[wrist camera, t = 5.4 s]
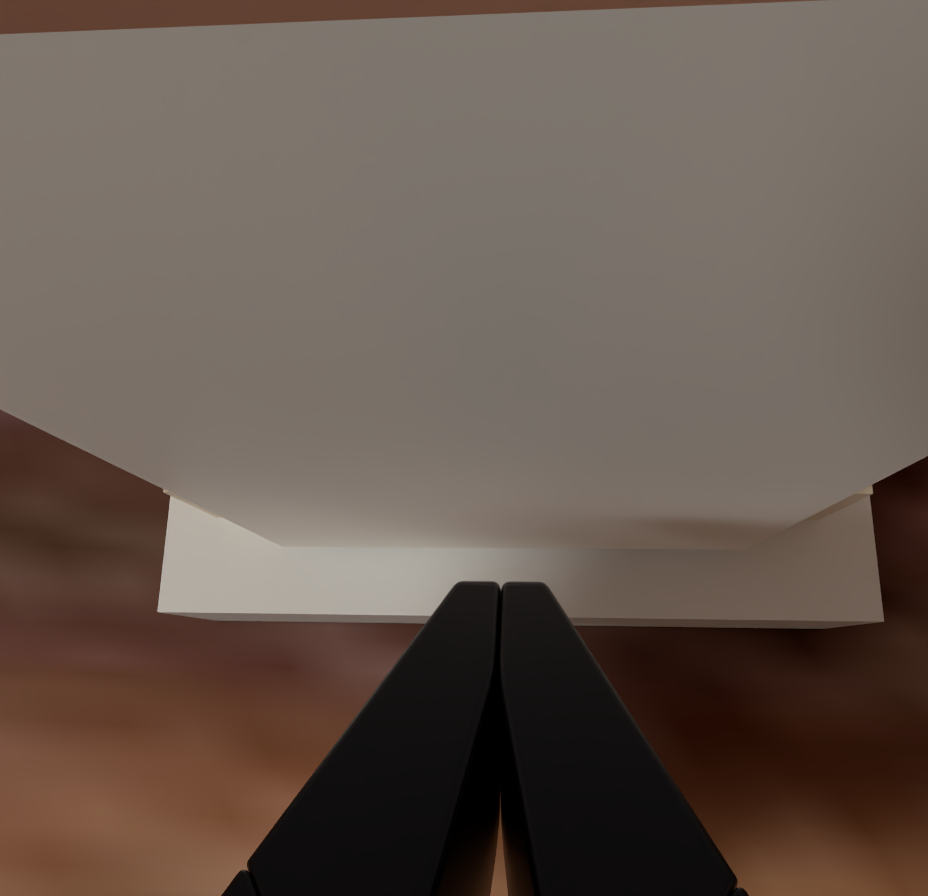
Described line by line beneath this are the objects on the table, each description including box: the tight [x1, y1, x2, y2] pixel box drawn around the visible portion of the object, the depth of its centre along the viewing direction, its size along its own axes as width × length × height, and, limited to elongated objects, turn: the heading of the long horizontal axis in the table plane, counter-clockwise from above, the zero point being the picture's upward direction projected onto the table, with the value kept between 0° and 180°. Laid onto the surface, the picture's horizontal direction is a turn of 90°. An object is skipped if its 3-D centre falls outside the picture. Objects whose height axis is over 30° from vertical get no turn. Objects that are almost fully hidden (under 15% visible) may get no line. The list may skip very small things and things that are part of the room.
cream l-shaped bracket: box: [158, 485, 884, 629], centre depth 10 cm, size 9×11×13 cm
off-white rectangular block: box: [0, 0, 928, 550], centre depth 7 cm, size 2×7×11 cm, turn 89°
